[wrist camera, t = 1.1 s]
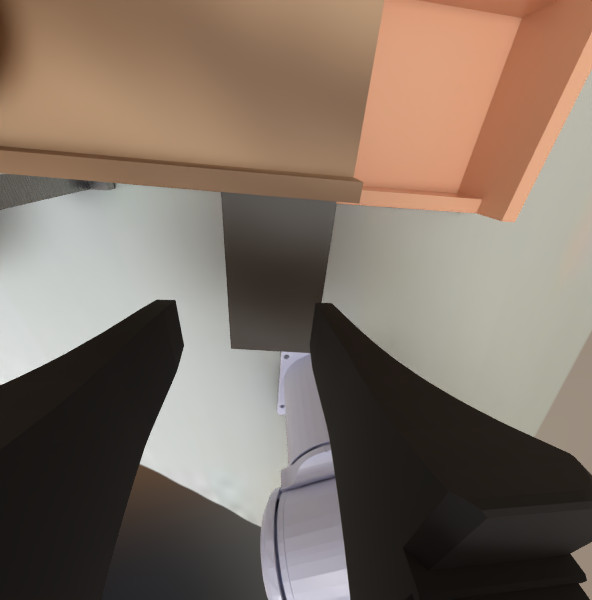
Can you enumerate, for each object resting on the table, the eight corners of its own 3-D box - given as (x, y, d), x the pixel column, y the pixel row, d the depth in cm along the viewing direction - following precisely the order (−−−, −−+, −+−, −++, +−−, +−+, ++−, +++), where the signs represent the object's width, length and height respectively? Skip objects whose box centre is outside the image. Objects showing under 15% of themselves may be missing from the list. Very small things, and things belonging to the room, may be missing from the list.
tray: (457, 204, 18) (514, 222, 14) (320, 194, 17) (337, 210, 13) (534, 3, 13) (658, -65, 9) (347, -30, 12) (389, -126, 8)
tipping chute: (321, 337, 14) (328, 388, 11) (26, 318, 13) (-52, 367, 10) (402, -154, 6) (500, -433, 3) (-286, -253, 6) (-946, -709, 3)
